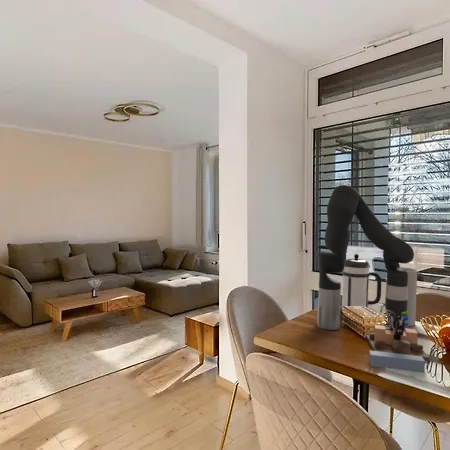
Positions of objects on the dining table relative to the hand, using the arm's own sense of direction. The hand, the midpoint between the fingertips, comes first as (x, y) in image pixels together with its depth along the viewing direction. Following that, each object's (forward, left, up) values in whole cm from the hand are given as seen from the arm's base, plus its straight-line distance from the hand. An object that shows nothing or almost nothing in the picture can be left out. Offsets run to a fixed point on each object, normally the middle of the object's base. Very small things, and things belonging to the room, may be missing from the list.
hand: (394, 342), depth 133 cm
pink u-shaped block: (0, 0, 0) cm, 0 cm away
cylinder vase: (+11, +34, -3) cm, 36 cm away
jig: (0, 0, -2) cm, 2 cm away
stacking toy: (+7, +20, -3) cm, 21 cm away
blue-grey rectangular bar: (-4, -17, -3) cm, 18 cm away
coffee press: (-6, +45, -3) cm, 45 cm away
